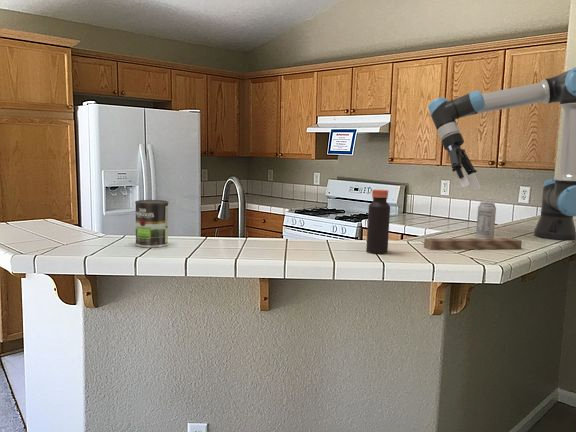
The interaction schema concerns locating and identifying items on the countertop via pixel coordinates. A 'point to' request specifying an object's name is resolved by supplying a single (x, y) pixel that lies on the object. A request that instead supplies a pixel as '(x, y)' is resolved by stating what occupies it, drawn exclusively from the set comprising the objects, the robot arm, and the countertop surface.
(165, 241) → the coffee can
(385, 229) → the bottle
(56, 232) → the countertop surface
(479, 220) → the energy drink can
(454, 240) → the walnut board
